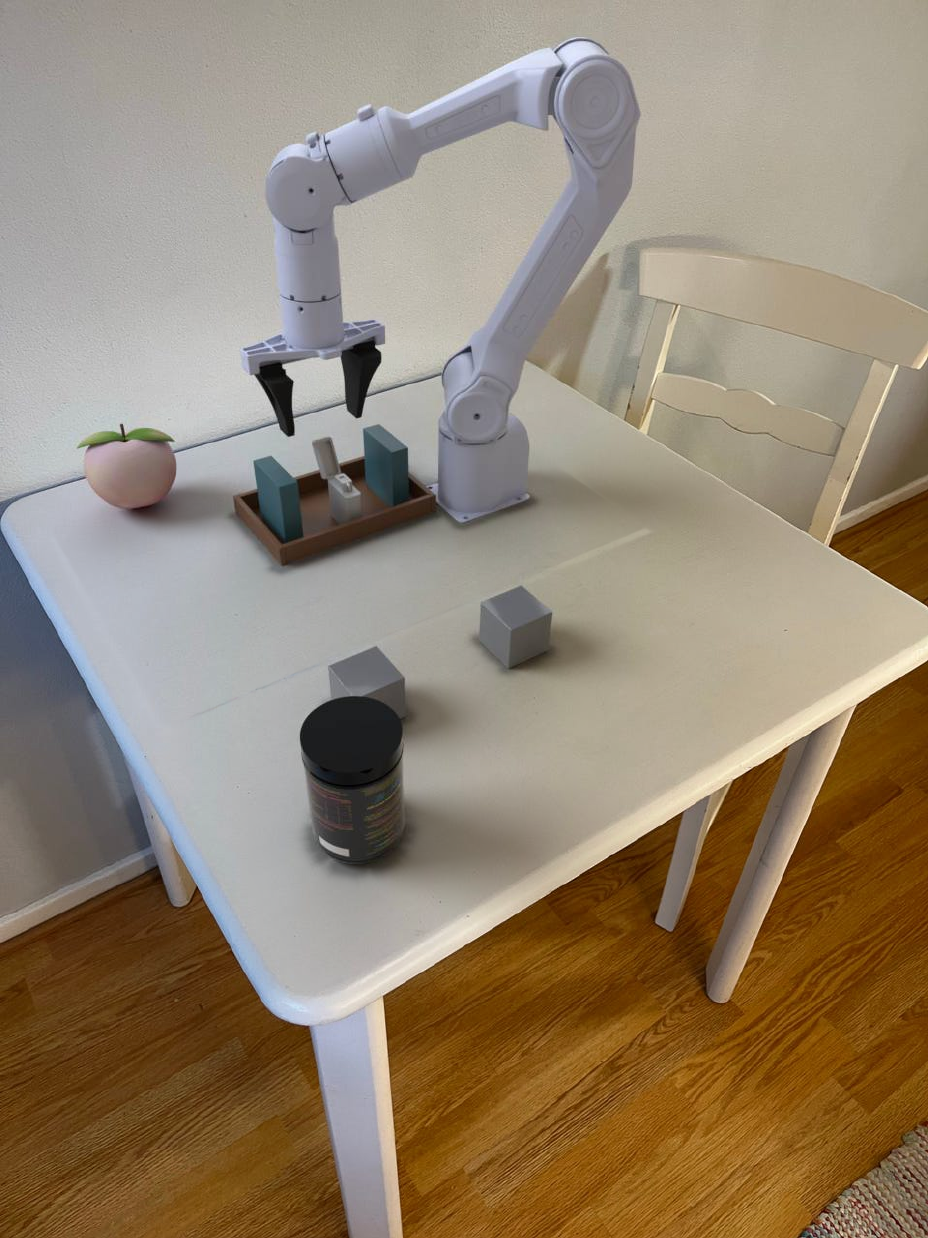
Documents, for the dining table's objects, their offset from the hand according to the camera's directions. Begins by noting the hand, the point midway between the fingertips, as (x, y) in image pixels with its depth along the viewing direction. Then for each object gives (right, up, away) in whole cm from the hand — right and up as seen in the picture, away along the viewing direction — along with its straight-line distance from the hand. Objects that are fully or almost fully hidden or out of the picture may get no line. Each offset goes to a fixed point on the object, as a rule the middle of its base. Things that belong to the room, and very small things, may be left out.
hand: (321, 422), depth 92 cm
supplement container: (+7, -36, -27) cm, 45 cm away
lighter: (+1, -9, +3) cm, 10 cm away
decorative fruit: (-20, -9, +4) cm, 22 cm away
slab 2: (+6, -6, +6) cm, 11 cm away
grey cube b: (+7, -28, -18) cm, 34 cm away
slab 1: (-4, -11, +1) cm, 12 cm away
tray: (+1, -9, +4) cm, 10 cm away
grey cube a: (+19, -23, -11) cm, 32 cm away
